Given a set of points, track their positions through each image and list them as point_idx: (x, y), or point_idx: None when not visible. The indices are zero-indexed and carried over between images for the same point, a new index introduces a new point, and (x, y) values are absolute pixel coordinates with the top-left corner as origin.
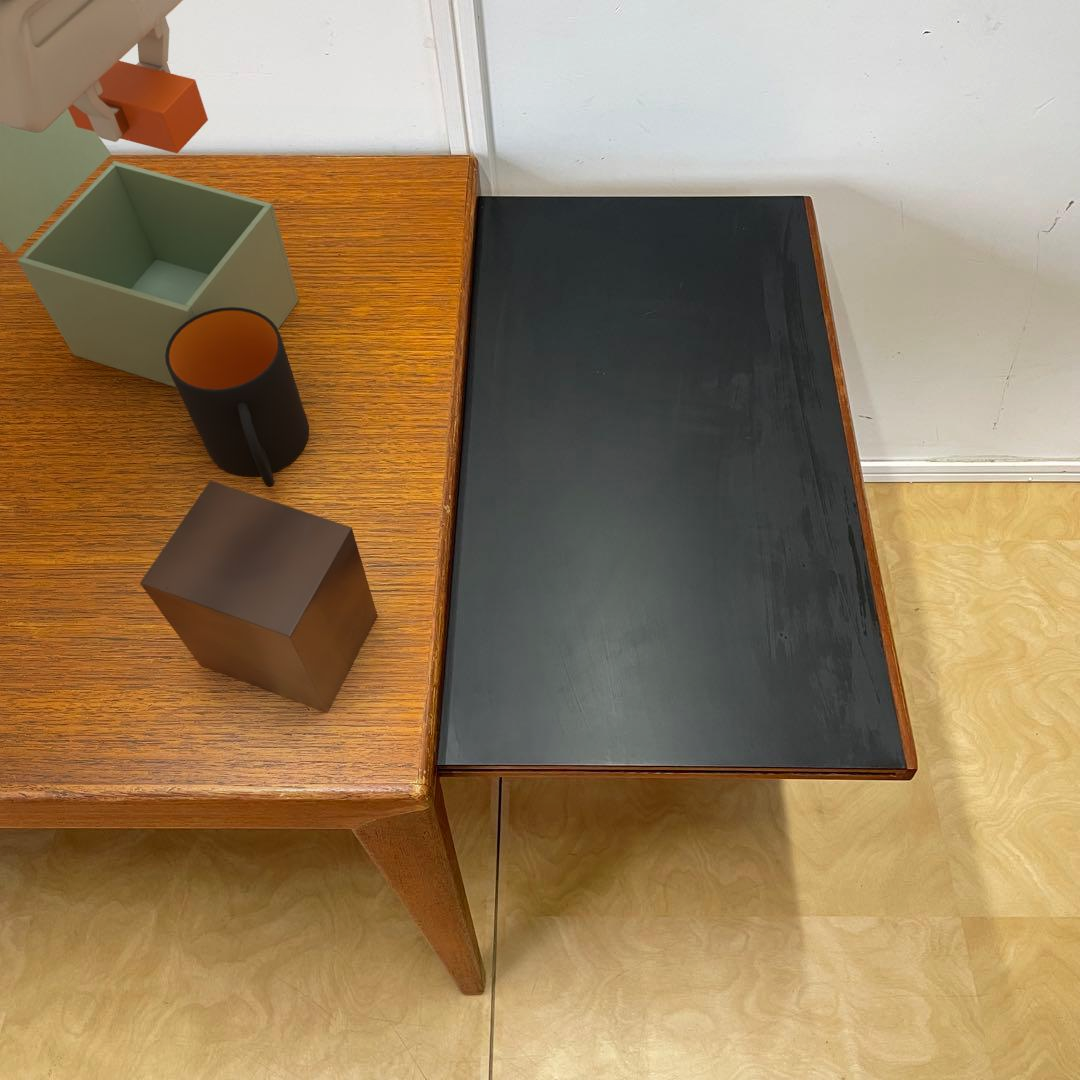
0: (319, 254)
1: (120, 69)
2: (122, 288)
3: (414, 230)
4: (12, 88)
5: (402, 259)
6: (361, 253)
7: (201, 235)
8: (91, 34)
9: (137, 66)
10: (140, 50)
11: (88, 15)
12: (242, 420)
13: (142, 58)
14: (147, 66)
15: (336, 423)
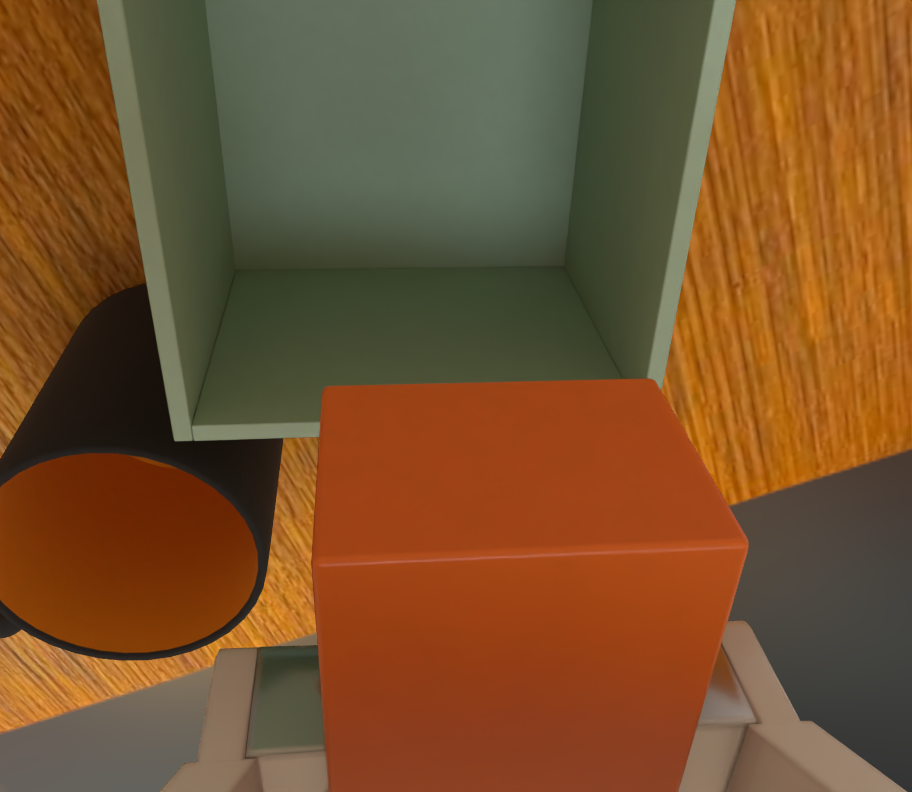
0: (731, 242)
1: (616, 744)
2: (152, 231)
3: (838, 392)
4: None
5: (744, 407)
6: (749, 326)
7: (626, 80)
8: None
9: (666, 787)
10: (798, 774)
11: None
12: (6, 623)
13: (760, 751)
14: (710, 766)
15: (283, 482)
